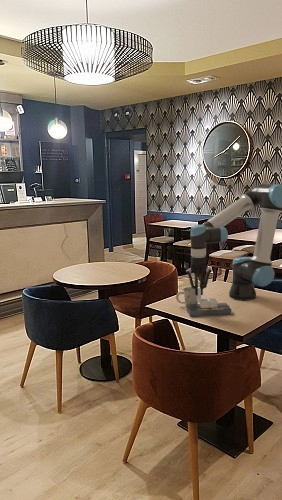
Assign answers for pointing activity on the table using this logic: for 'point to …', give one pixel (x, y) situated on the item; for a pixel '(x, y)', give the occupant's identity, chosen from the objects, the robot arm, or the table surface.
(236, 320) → the table surface
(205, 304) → the toggle
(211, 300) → the toggle
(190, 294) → the mug
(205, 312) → the console
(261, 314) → the table surface
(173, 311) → the table surface
